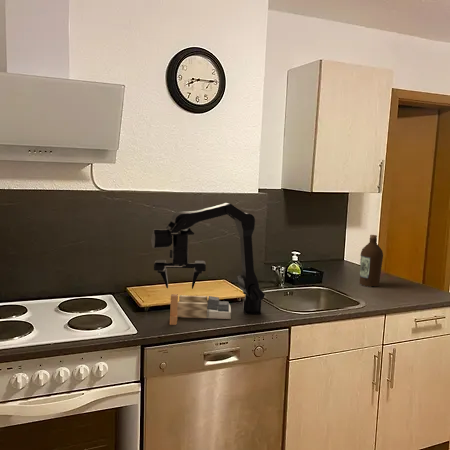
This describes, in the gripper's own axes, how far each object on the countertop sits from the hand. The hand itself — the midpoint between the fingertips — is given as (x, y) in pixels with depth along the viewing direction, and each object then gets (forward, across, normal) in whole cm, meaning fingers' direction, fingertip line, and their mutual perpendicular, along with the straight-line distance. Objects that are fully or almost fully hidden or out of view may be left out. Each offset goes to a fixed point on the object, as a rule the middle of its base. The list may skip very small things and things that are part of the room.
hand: (179, 288), depth 176 cm
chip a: (+9, -14, -6) cm, 18 cm away
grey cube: (+9, -12, -6) cm, 16 cm away
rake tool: (+12, +2, +4) cm, 12 cm away
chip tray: (+12, -15, -6) cm, 20 cm away
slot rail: (+12, -5, -6) cm, 14 cm away
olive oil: (+14, -91, -57) cm, 108 cm away
